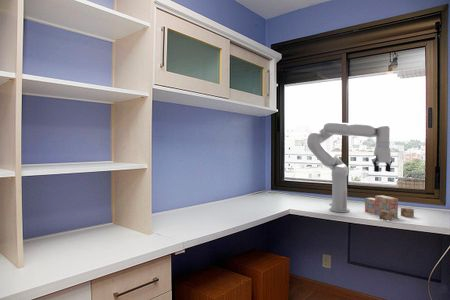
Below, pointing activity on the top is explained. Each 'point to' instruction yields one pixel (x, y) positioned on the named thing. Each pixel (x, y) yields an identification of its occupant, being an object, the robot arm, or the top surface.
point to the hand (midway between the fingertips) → (382, 171)
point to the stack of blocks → (382, 205)
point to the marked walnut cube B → (407, 212)
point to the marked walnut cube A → (386, 215)
